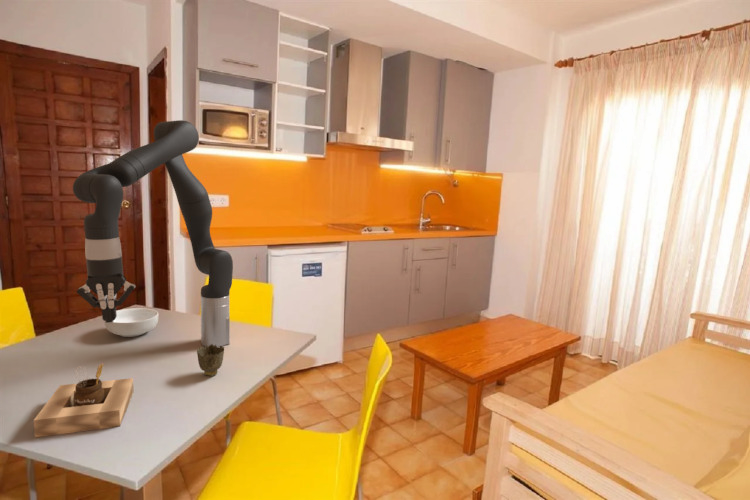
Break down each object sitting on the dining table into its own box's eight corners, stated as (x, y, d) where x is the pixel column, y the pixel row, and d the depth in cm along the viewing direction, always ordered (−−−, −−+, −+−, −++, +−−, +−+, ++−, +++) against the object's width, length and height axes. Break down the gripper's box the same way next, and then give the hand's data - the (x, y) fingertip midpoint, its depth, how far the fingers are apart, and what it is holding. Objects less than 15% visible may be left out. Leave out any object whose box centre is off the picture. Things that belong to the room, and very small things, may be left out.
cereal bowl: (142, 343, 141) (141, 323, 140) (93, 340, 141) (92, 320, 140) (167, 326, 158) (167, 308, 157) (124, 323, 158) (123, 306, 157)
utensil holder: (87, 403, 103) (84, 357, 101) (111, 404, 103) (109, 359, 101) (68, 416, 97) (65, 368, 95) (94, 418, 97) (92, 370, 95)
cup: (229, 372, 124) (229, 346, 123) (212, 382, 118) (212, 356, 116) (209, 367, 127) (209, 342, 126) (191, 377, 120) (191, 351, 119)
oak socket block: (133, 392, 110) (133, 378, 109) (120, 426, 95) (119, 410, 95) (61, 400, 104) (60, 385, 104) (34, 437, 90) (33, 420, 89)
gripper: (136, 251, 109) (141, 314, 112) (76, 253, 104) (83, 318, 107) (131, 257, 102) (136, 324, 105) (67, 259, 97) (74, 329, 101)
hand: (109, 321), depth 106 cm, fingers closed
